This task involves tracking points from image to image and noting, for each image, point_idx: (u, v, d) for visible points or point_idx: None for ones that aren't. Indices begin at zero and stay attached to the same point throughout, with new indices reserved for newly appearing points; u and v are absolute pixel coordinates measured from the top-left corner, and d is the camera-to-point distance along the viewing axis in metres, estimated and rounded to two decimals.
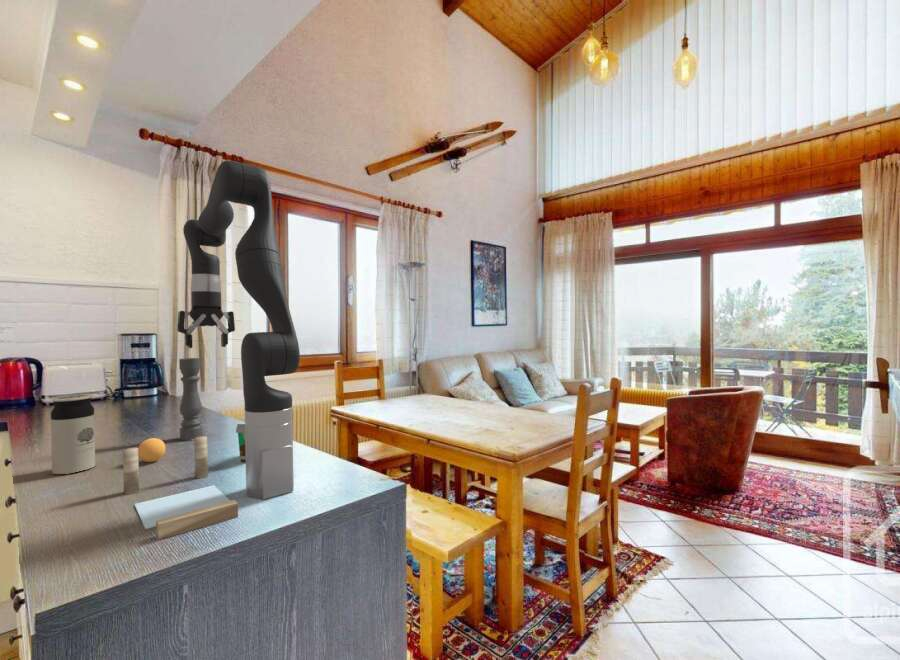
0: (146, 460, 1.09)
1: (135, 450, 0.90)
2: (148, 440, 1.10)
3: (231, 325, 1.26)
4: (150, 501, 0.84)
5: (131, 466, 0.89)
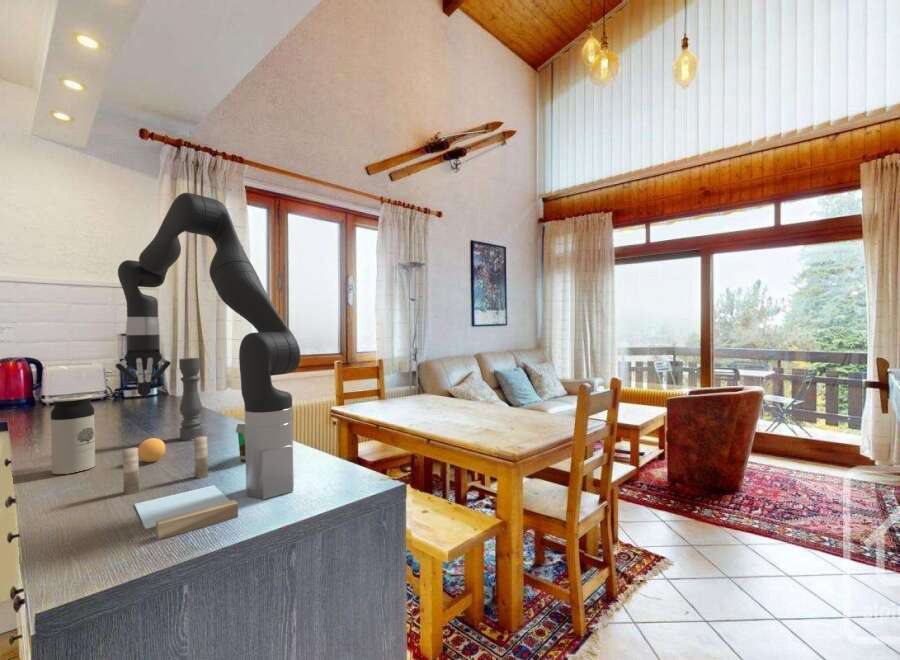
0: (146, 460, 1.09)
1: (135, 450, 0.90)
2: (148, 440, 1.10)
3: (158, 373, 1.20)
4: (150, 501, 0.84)
5: (131, 466, 0.89)
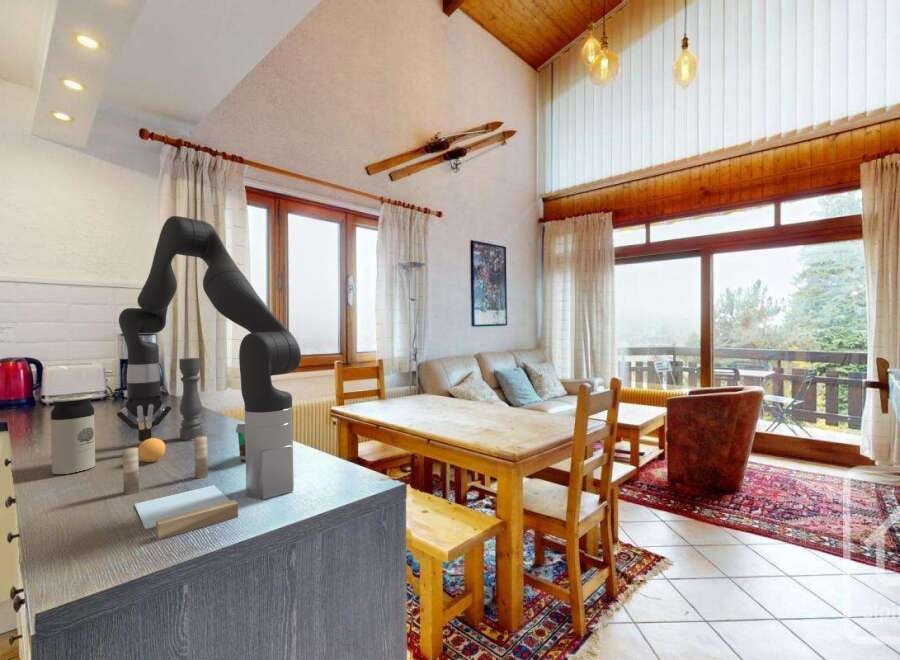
0: (146, 460, 1.09)
1: (135, 450, 0.90)
2: (148, 440, 1.10)
3: (158, 419, 1.20)
4: (150, 501, 0.84)
5: (131, 466, 0.89)
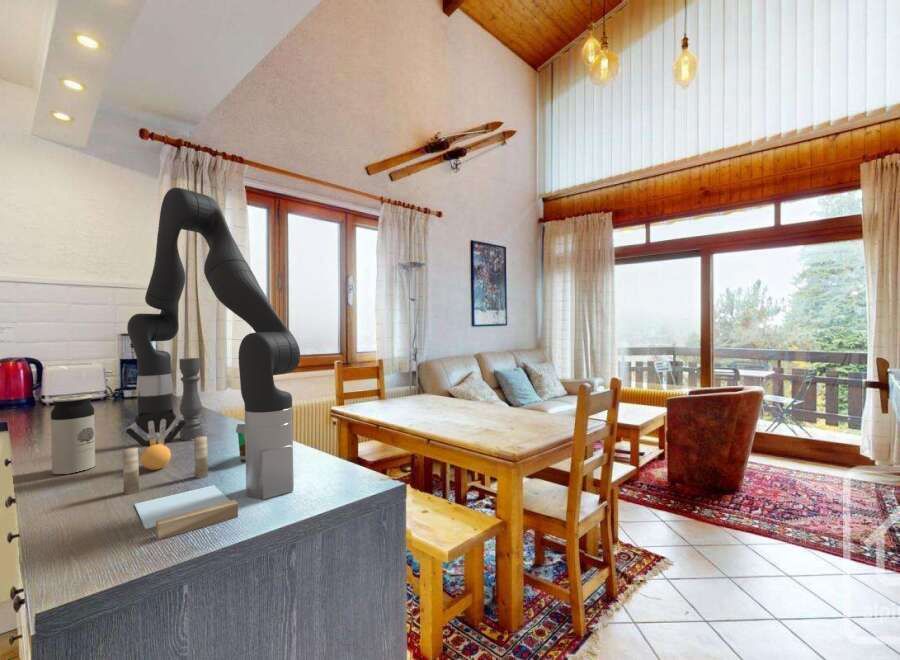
0: None
1: (135, 450, 0.90)
2: (153, 469, 1.03)
3: (171, 435, 1.09)
4: (150, 501, 0.84)
5: (131, 466, 0.89)
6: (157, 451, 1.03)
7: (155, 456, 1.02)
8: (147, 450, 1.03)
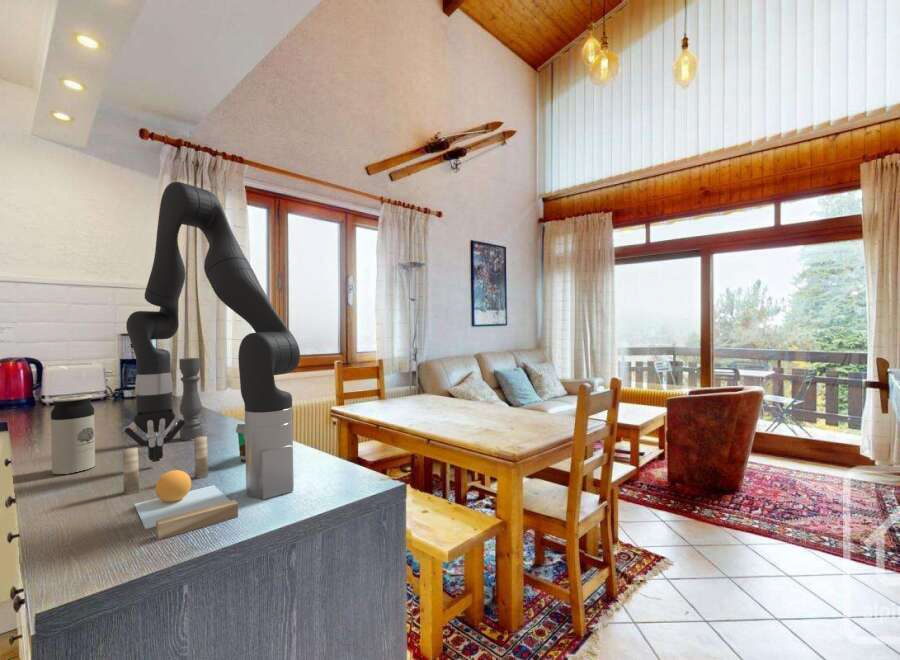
0: (167, 482, 0.82)
1: (135, 450, 0.90)
2: None
3: (171, 434, 1.07)
4: (150, 501, 0.84)
5: (131, 466, 0.89)
6: None
7: None
8: None
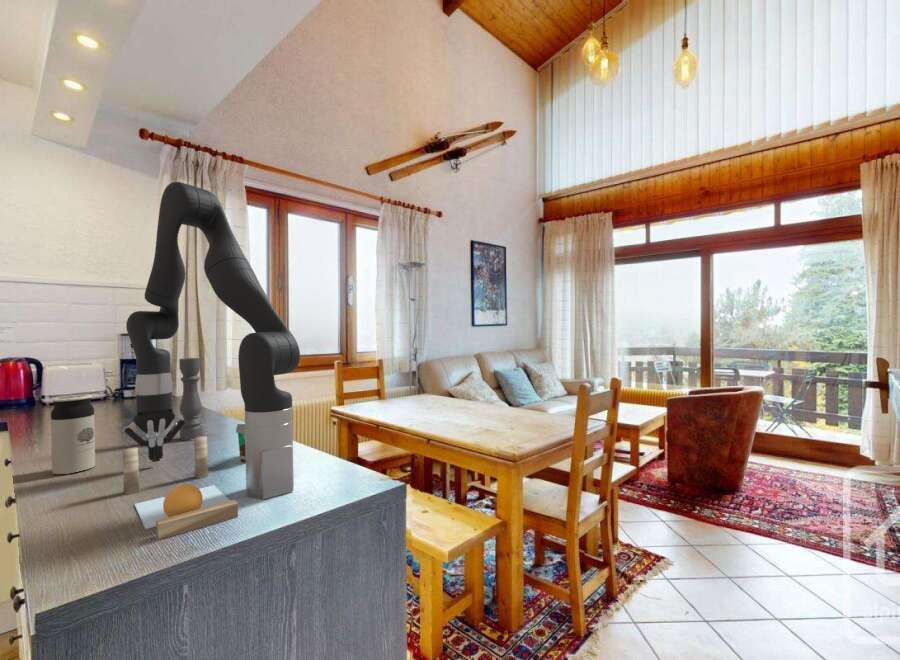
0: None
1: (135, 450, 0.90)
2: None
3: (171, 434, 1.07)
4: (150, 501, 0.84)
5: (131, 466, 0.89)
6: (184, 489, 0.76)
7: (182, 496, 0.75)
8: (171, 491, 0.76)
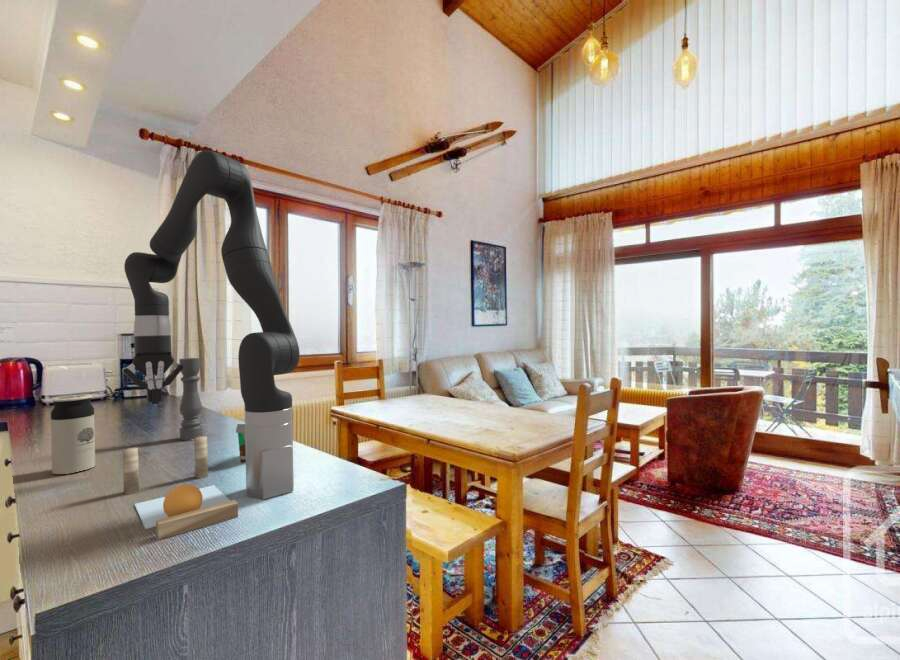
0: None
1: (135, 450, 0.90)
2: None
3: (169, 378, 1.07)
4: (150, 501, 0.84)
5: (131, 466, 0.89)
6: (184, 489, 0.76)
7: (182, 496, 0.75)
8: (171, 491, 0.76)
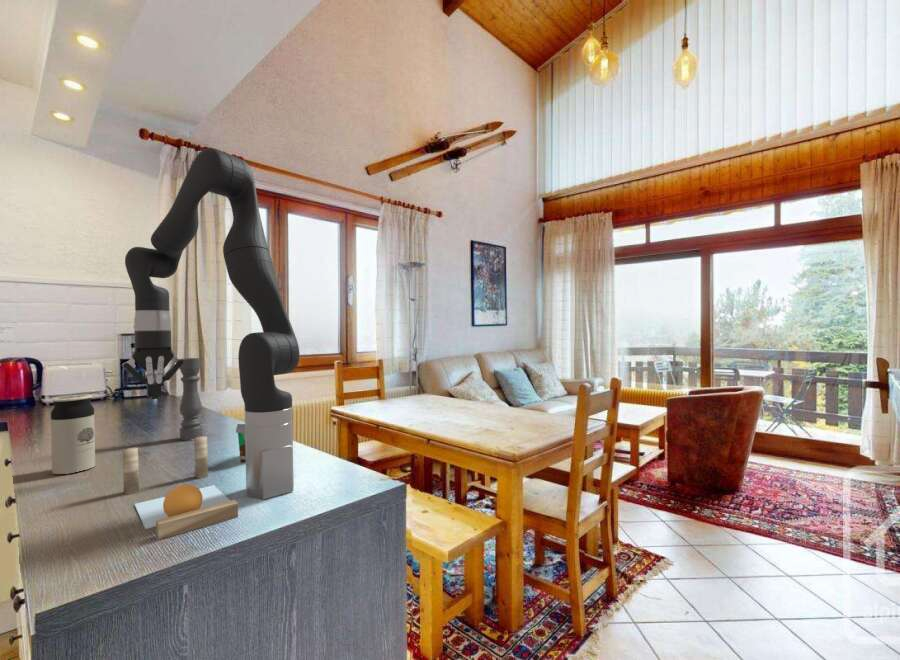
0: None
1: (135, 450, 0.90)
2: None
3: (169, 373, 1.07)
4: (150, 501, 0.84)
5: (131, 466, 0.89)
6: (184, 489, 0.76)
7: (182, 496, 0.75)
8: (171, 491, 0.76)
